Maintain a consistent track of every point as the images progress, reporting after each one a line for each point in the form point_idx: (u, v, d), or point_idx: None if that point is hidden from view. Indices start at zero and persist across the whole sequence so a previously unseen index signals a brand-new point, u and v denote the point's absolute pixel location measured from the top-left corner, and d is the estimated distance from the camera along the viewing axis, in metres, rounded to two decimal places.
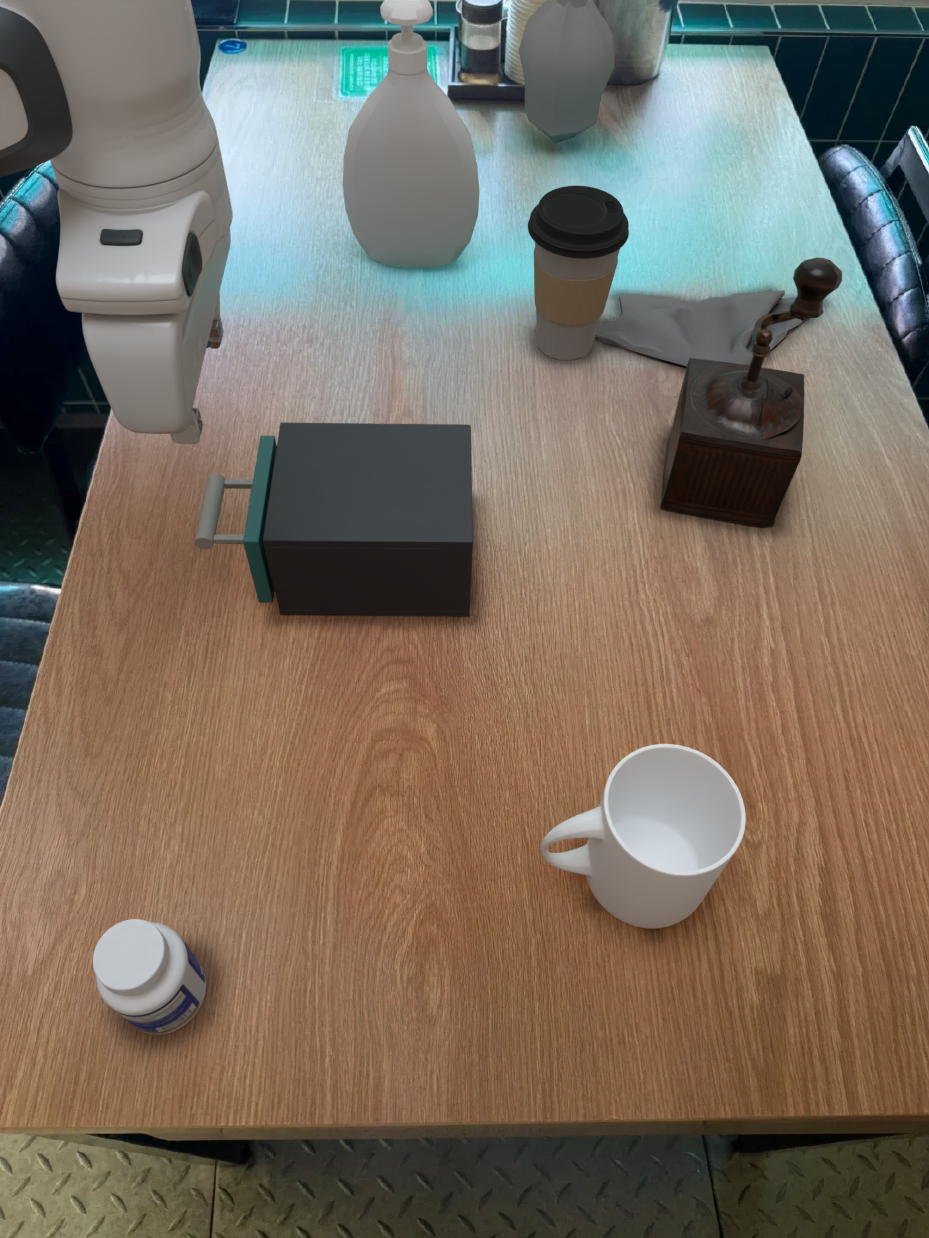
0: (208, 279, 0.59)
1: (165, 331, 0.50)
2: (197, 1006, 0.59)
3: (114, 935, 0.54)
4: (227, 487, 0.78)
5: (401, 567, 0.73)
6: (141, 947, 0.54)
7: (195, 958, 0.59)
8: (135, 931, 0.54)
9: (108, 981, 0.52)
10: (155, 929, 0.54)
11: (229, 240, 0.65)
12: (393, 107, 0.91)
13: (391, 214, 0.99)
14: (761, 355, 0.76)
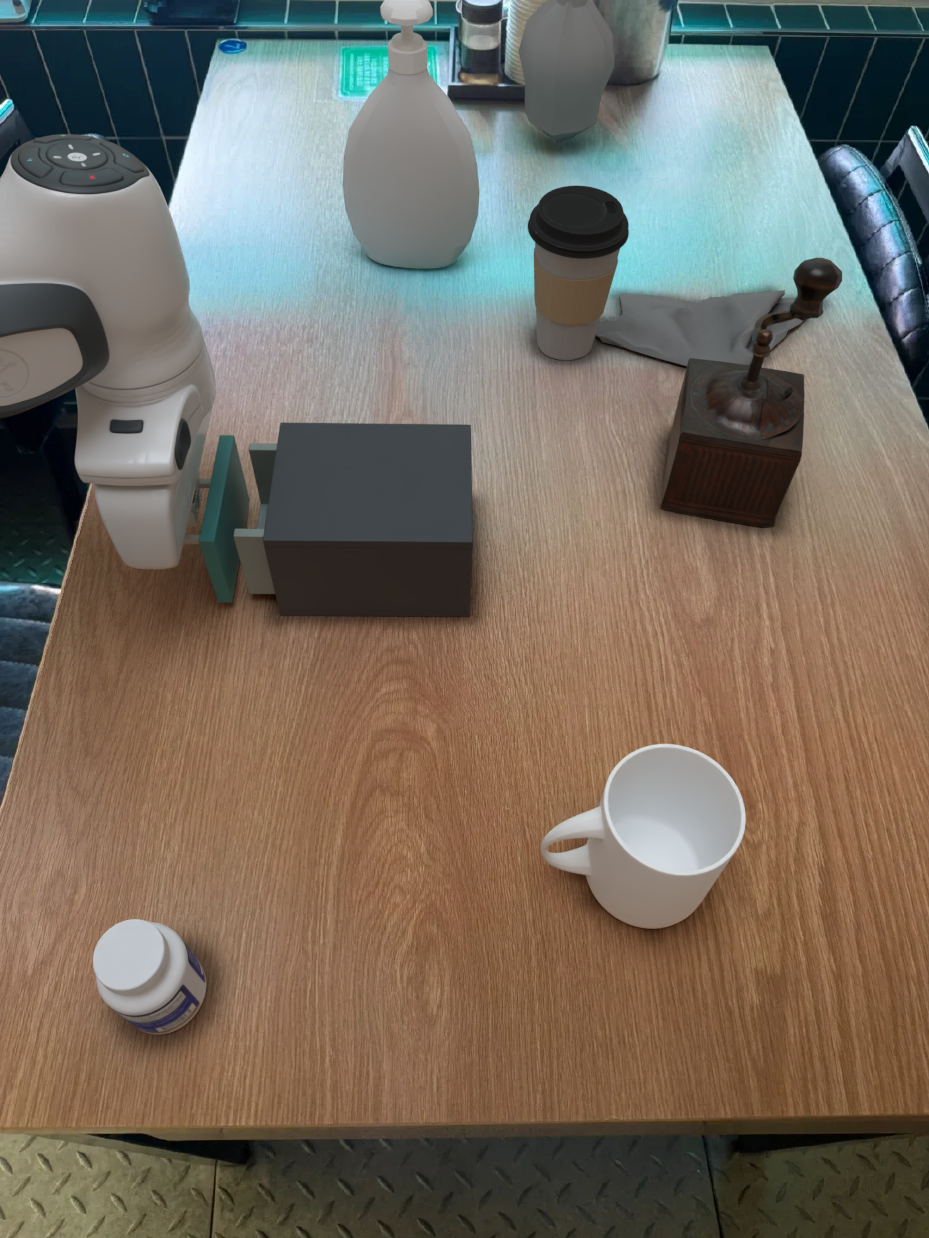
0: (196, 433, 0.72)
1: (161, 497, 0.62)
2: (197, 1006, 0.59)
3: (114, 935, 0.54)
4: None
5: (401, 567, 0.73)
6: (141, 947, 0.54)
7: (195, 958, 0.59)
8: (135, 931, 0.54)
9: (108, 981, 0.52)
10: (155, 929, 0.54)
11: None
12: (393, 107, 0.91)
13: (391, 214, 0.99)
14: (761, 355, 0.76)
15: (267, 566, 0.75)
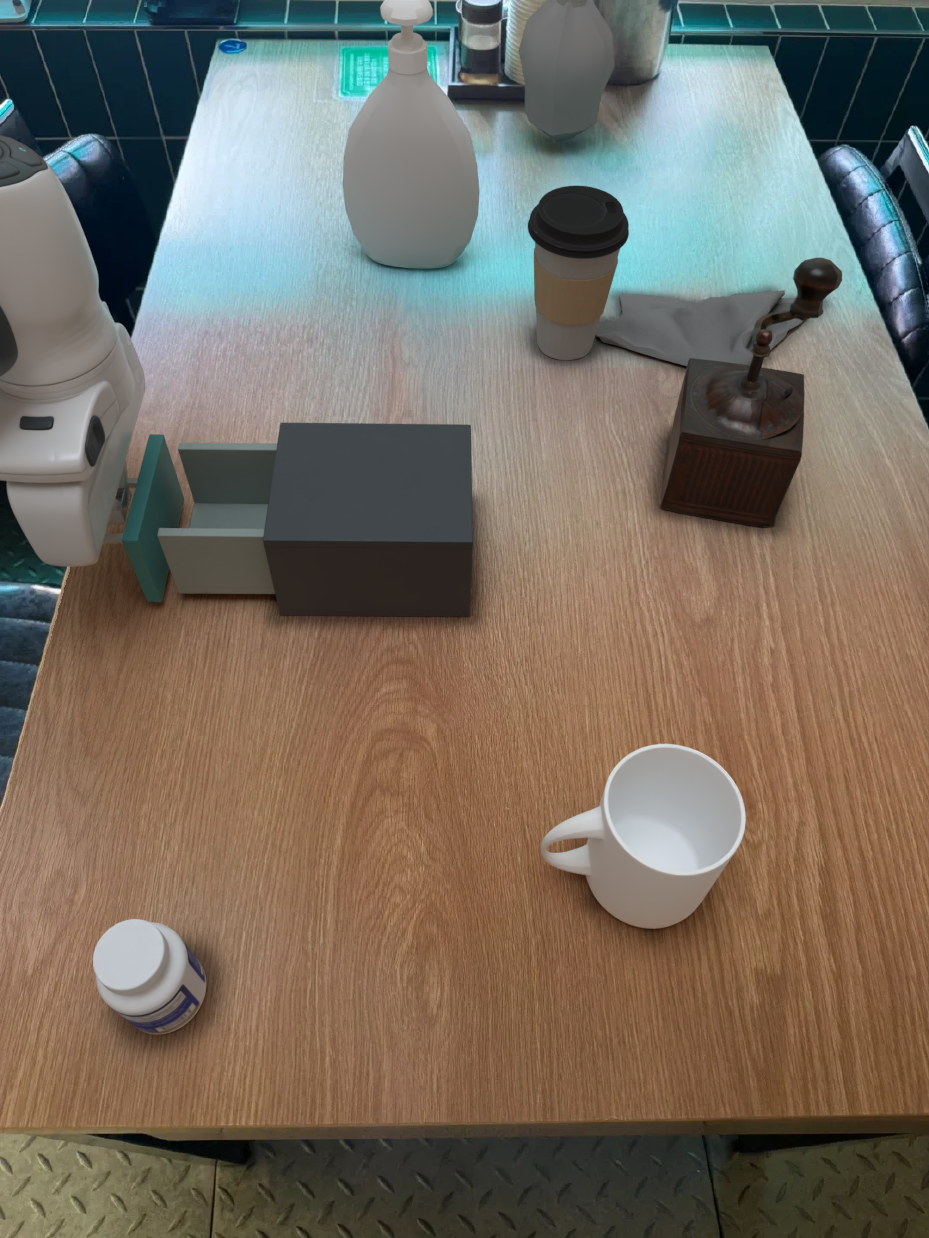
0: (120, 430, 0.72)
1: (73, 494, 0.62)
2: (197, 1006, 0.59)
3: (114, 935, 0.54)
4: None
5: (401, 567, 0.73)
6: (141, 946, 0.54)
7: (195, 958, 0.59)
8: (135, 931, 0.54)
9: (108, 981, 0.52)
10: (155, 929, 0.54)
11: (143, 387, 0.77)
12: (393, 107, 0.91)
13: (391, 214, 0.99)
14: (761, 355, 0.76)
15: (194, 565, 0.74)
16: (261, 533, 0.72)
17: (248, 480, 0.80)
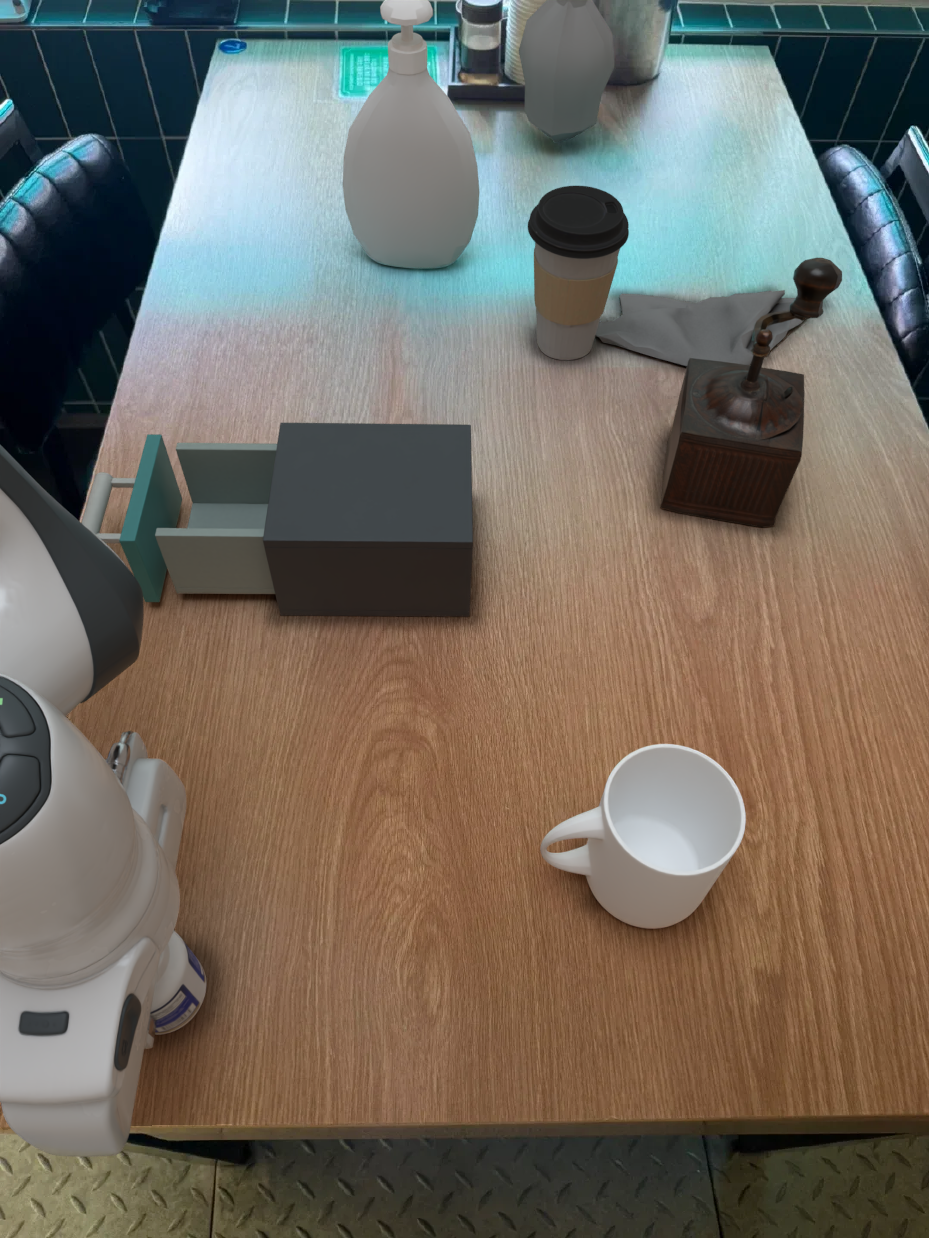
0: None
1: (96, 1109, 0.43)
2: (197, 1006, 0.59)
3: None
4: (115, 486, 0.78)
5: (401, 567, 0.73)
6: None
7: (195, 958, 0.59)
8: None
9: None
10: None
11: (184, 810, 0.58)
12: (393, 107, 0.91)
13: (391, 214, 0.99)
14: (761, 355, 0.76)
15: (192, 565, 0.74)
16: (259, 533, 0.72)
17: (246, 480, 0.80)
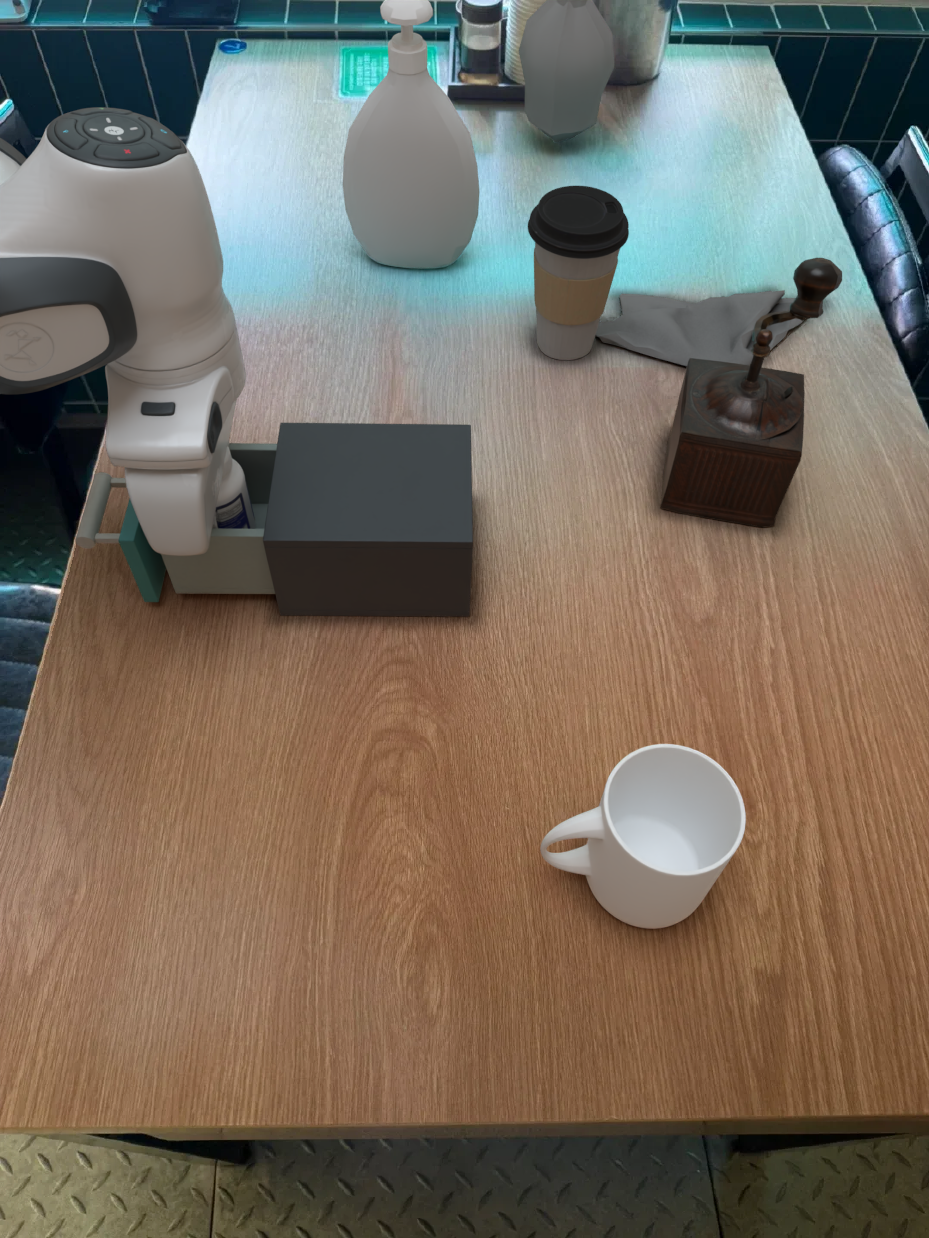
0: None
1: (192, 481, 0.61)
2: None
3: None
4: (114, 486, 0.78)
5: (401, 567, 0.73)
6: None
7: None
8: None
9: None
10: None
11: None
12: (393, 107, 0.91)
13: (391, 214, 0.99)
14: (761, 355, 0.76)
15: (191, 565, 0.74)
16: (258, 533, 0.72)
17: None
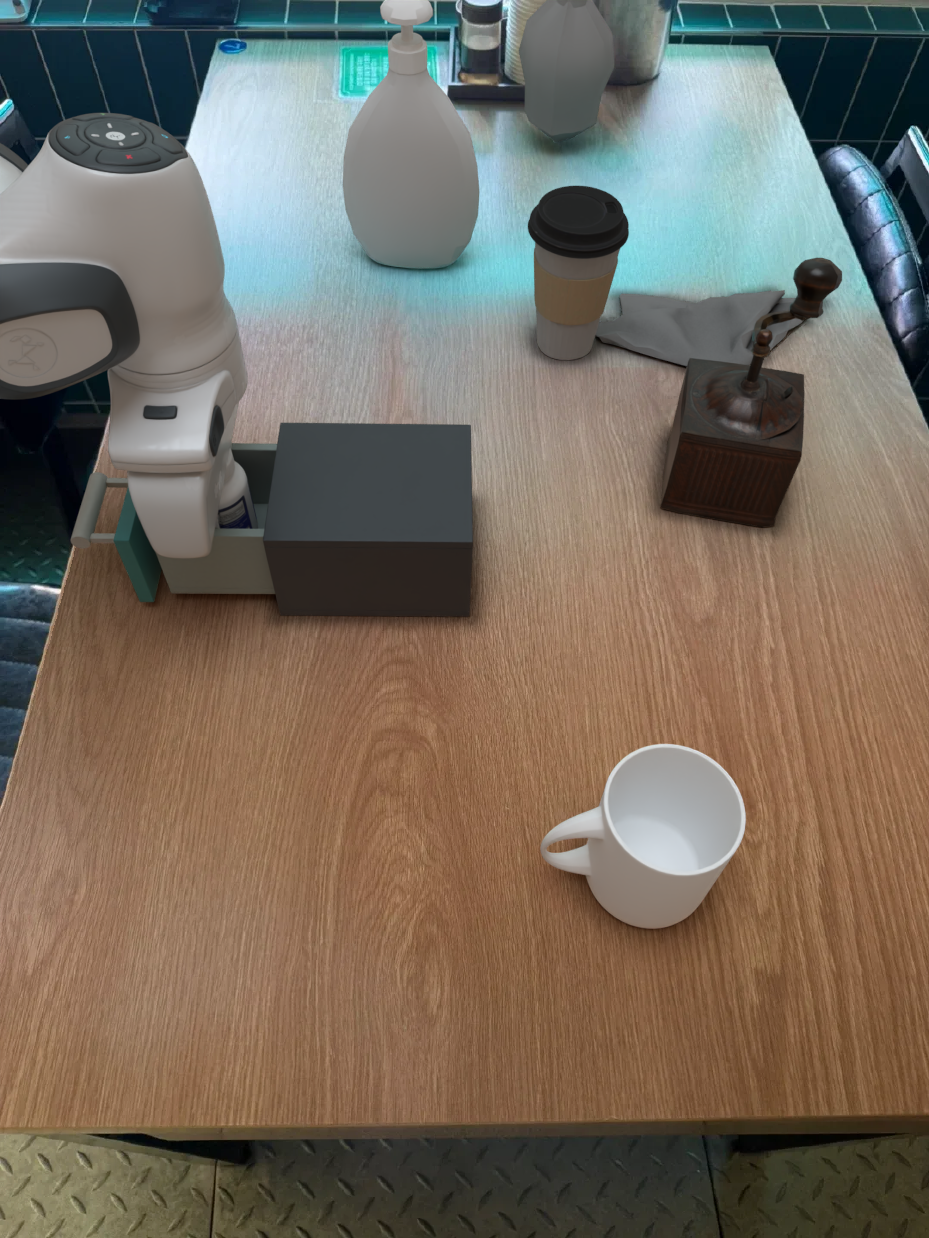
0: None
1: (194, 484, 0.61)
2: None
3: None
4: (109, 486, 0.78)
5: (401, 567, 0.73)
6: None
7: None
8: None
9: None
10: None
11: None
12: (393, 107, 0.91)
13: (391, 214, 0.99)
14: (761, 355, 0.76)
15: (186, 565, 0.74)
16: (253, 533, 0.72)
17: None
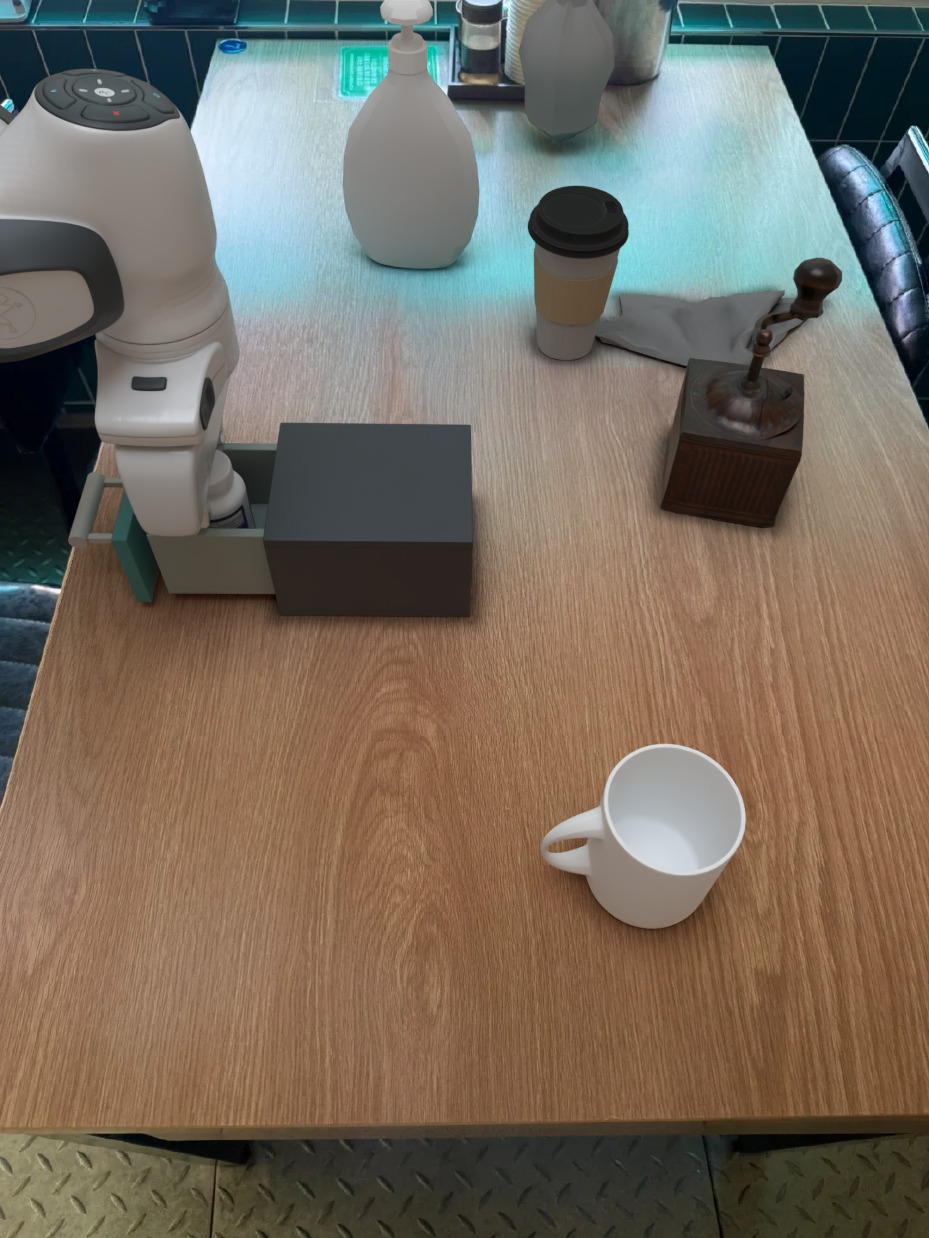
0: None
1: (184, 459, 0.60)
2: None
3: None
4: (107, 486, 0.78)
5: (401, 567, 0.73)
6: (214, 463, 0.73)
7: None
8: None
9: None
10: (223, 454, 0.73)
11: None
12: (393, 107, 0.91)
13: (391, 214, 0.99)
14: (761, 355, 0.76)
15: (184, 565, 0.74)
16: (250, 533, 0.72)
17: None
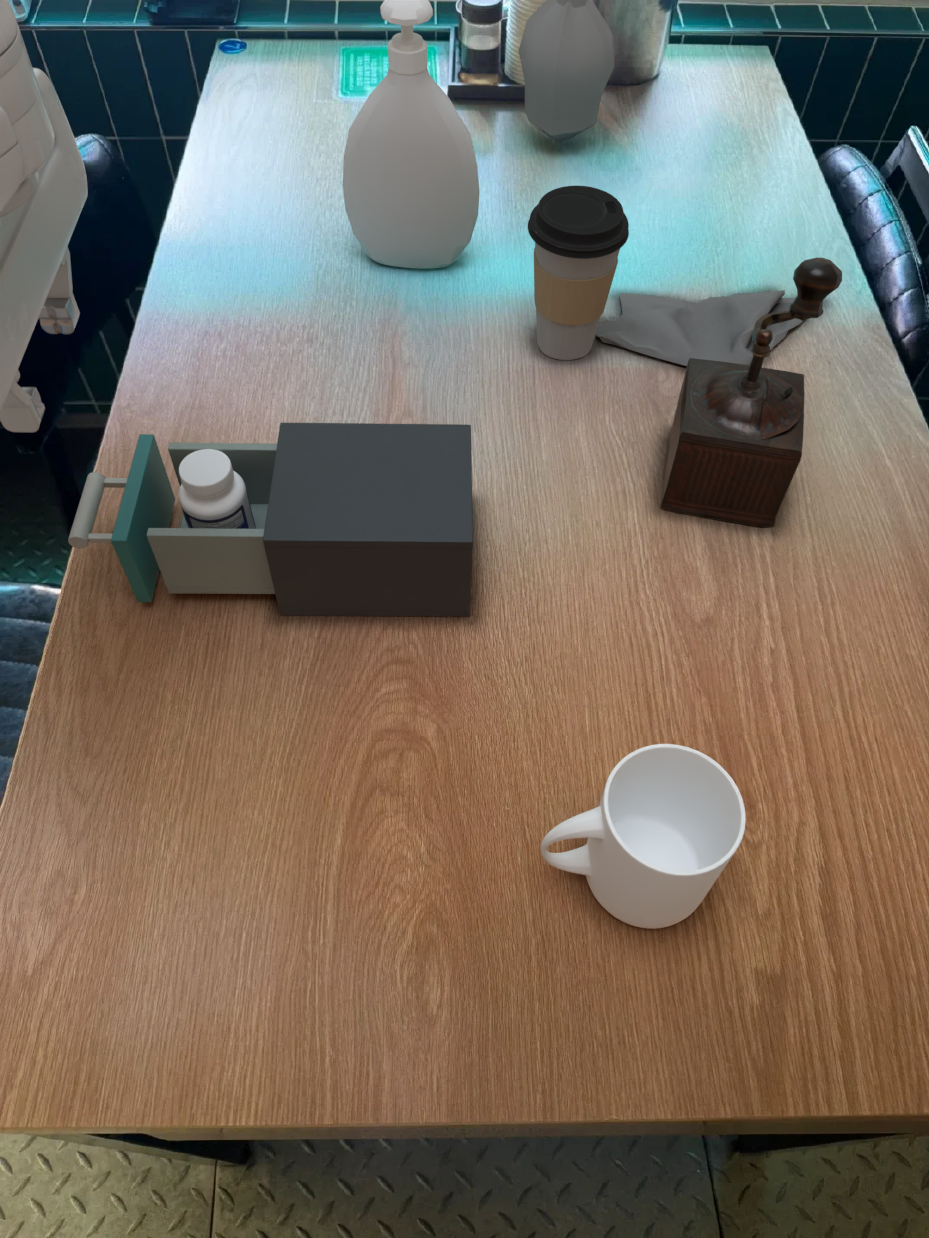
0: (40, 233, 0.46)
1: None
2: None
3: (194, 457, 0.73)
4: (107, 486, 0.78)
5: (401, 567, 0.73)
6: (214, 463, 0.73)
7: None
8: (209, 455, 0.73)
9: (191, 481, 0.72)
10: (224, 454, 0.73)
11: (84, 189, 0.52)
12: (393, 107, 0.91)
13: (391, 214, 0.99)
14: (761, 355, 0.76)
15: (184, 565, 0.74)
16: (250, 533, 0.72)
17: None
